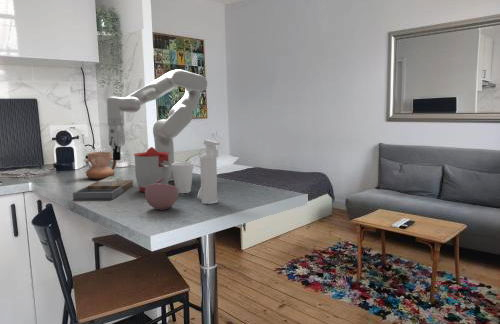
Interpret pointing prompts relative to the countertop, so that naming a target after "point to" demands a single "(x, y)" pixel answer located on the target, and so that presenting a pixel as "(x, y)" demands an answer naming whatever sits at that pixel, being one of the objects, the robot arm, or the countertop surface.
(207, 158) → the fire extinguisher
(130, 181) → the walnut plate
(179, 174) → the foam cup
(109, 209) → the countertop surface
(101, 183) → the cream tile
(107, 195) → the box
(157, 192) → the apple
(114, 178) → the sage tile
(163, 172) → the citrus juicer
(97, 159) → the ceramic jug
